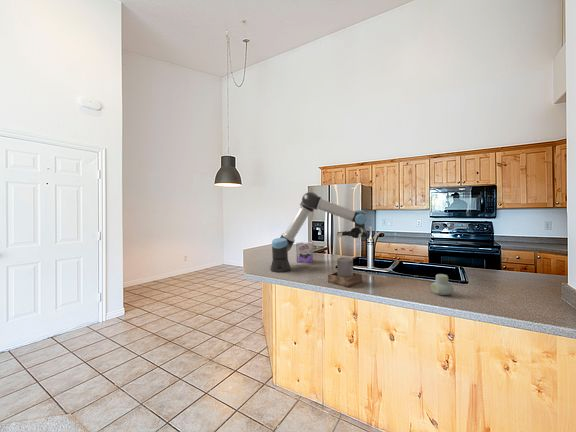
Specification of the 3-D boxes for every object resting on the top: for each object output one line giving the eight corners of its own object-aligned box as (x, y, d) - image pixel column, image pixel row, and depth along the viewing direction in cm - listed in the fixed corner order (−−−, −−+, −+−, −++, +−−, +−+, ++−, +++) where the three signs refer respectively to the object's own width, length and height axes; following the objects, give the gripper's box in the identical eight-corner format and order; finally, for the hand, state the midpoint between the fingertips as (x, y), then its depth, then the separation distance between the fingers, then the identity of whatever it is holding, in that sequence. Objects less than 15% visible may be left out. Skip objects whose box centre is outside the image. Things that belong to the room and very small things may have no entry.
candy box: (296, 262, 230) (296, 243, 229) (297, 260, 236) (296, 241, 235) (312, 262, 228) (312, 242, 227) (313, 260, 233) (312, 241, 233)
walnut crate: (328, 282, 172) (327, 274, 172) (342, 277, 182) (342, 270, 182) (347, 287, 161) (347, 279, 161) (362, 281, 171) (361, 274, 171)
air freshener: (428, 290, 152) (428, 273, 151) (442, 289, 152) (442, 272, 152) (440, 297, 141) (440, 278, 140) (456, 296, 142) (456, 277, 141)
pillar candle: (335, 278, 176) (335, 255, 175) (350, 277, 177) (350, 255, 176) (340, 283, 166) (339, 259, 165) (355, 282, 167) (355, 258, 166)
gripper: (374, 238, 192) (368, 242, 173) (339, 236, 203) (330, 240, 184) (374, 227, 191) (368, 231, 172) (339, 226, 203) (330, 229, 184)
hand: (348, 236), depth 178 cm, fingers open, 13 cm apart
